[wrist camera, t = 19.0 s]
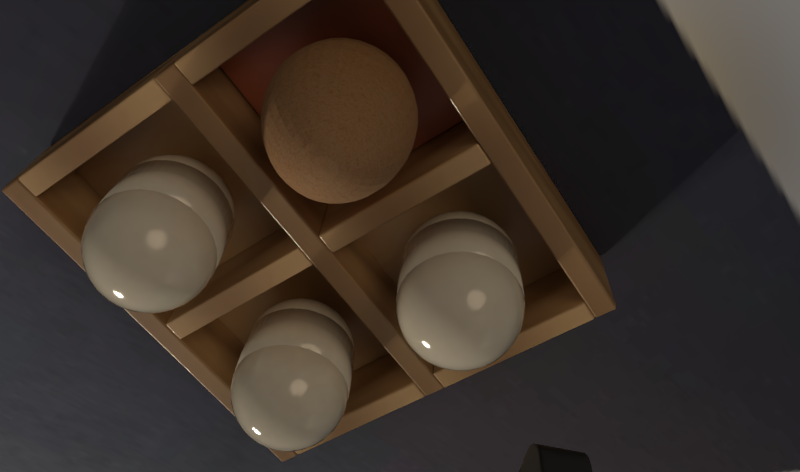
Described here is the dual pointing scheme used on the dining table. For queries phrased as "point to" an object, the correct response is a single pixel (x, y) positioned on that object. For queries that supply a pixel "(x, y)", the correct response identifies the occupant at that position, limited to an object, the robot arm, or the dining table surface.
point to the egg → (338, 120)
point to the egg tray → (316, 221)
